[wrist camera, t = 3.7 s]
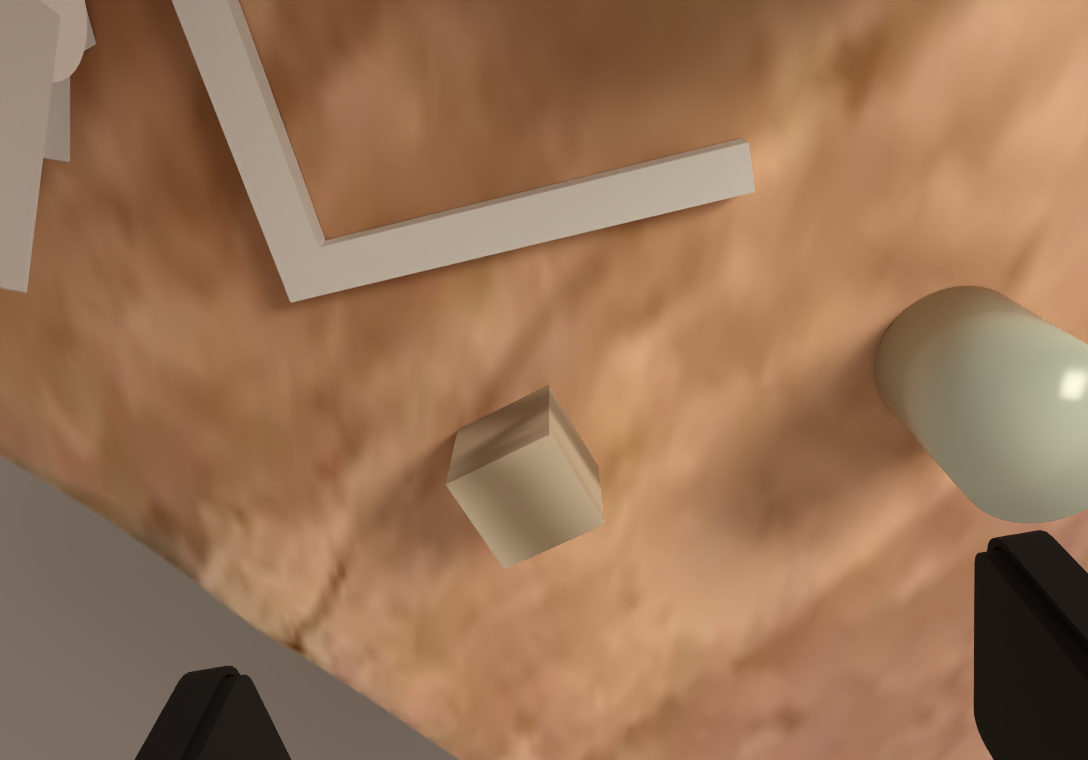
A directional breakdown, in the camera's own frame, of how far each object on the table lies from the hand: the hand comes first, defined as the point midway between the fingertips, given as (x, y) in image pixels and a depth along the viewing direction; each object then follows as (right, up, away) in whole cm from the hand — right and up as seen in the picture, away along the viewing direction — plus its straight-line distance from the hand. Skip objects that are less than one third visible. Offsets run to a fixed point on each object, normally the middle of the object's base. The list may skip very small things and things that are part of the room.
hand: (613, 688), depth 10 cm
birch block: (-2, +1, +28) cm, 28 cm away
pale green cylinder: (+18, +5, +26) cm, 32 cm away
